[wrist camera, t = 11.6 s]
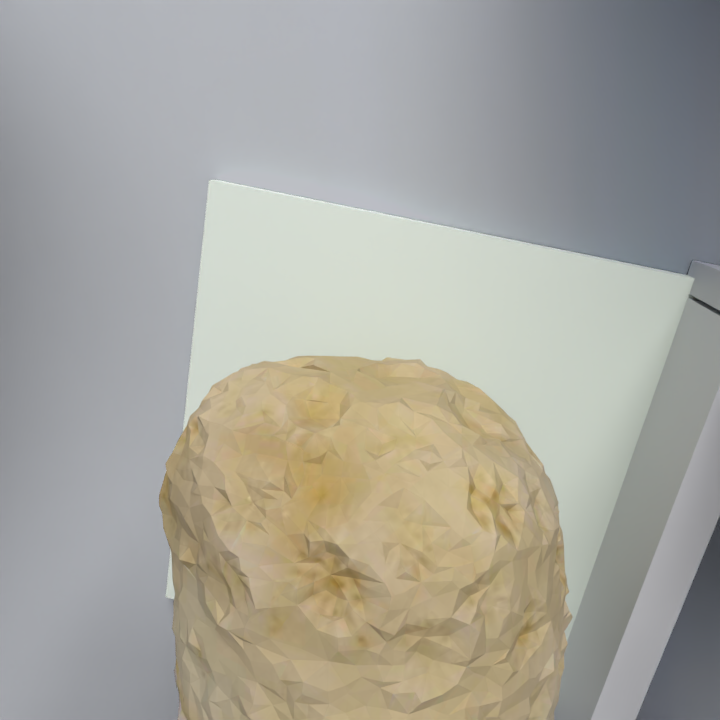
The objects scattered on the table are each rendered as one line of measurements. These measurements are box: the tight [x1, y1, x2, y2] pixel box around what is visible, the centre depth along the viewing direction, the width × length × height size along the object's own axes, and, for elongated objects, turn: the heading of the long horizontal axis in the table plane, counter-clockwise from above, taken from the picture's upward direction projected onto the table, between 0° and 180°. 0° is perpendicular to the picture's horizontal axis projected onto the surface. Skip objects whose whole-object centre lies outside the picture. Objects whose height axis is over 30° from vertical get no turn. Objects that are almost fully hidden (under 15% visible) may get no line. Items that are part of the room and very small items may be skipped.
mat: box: [166, 180, 699, 640], centre depth 19 cm, size 14×14×1 cm
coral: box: [159, 356, 573, 720], centre depth 15 cm, size 10×10×10 cm
